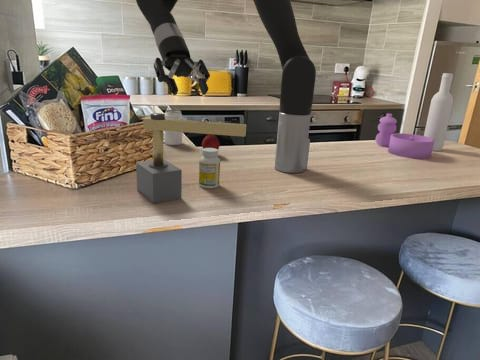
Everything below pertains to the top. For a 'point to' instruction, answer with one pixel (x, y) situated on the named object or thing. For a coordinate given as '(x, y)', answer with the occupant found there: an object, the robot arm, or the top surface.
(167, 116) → the can
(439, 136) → the bottle
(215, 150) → the supplement bottle
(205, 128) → the tan latch lever
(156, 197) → the block
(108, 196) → the top surface
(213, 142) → the red apple
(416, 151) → the container set
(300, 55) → the robot arm
